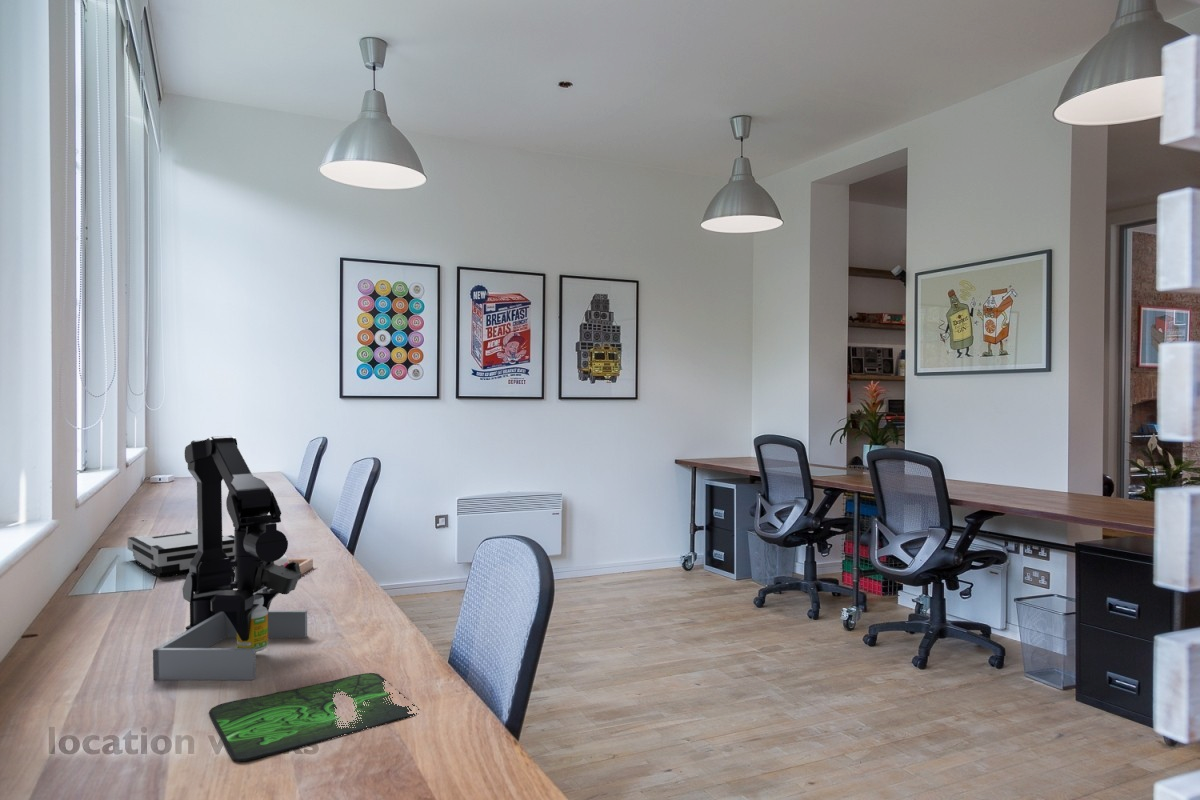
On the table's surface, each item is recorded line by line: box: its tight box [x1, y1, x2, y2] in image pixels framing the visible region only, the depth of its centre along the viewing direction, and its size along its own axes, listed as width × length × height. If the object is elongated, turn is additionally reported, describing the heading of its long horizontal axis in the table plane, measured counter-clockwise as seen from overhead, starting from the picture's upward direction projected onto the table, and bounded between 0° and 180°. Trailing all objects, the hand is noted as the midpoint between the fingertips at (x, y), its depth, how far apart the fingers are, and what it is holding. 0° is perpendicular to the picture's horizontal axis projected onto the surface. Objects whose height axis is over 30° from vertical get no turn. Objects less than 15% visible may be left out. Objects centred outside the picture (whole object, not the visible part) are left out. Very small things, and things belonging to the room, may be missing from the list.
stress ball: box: [274, 553, 289, 567], centre depth 204 cm, size 8×8×7 cm
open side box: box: [152, 610, 308, 681], centre depth 142 cm, size 18×23×5 cm
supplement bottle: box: [236, 595, 269, 653], centre depth 142 cm, size 5×5×10 cm
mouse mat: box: [208, 672, 418, 762], centre depth 118 cm, size 27×22×1 cm
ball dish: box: [288, 558, 314, 575], centre depth 206 cm, size 13×13×2 cm
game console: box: [126, 528, 235, 578], centre depth 218 cm, size 21×32×8 cm, turn 45°
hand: (252, 635), depth 142 cm, fingers closed on supplement bottle, 5 cm apart
